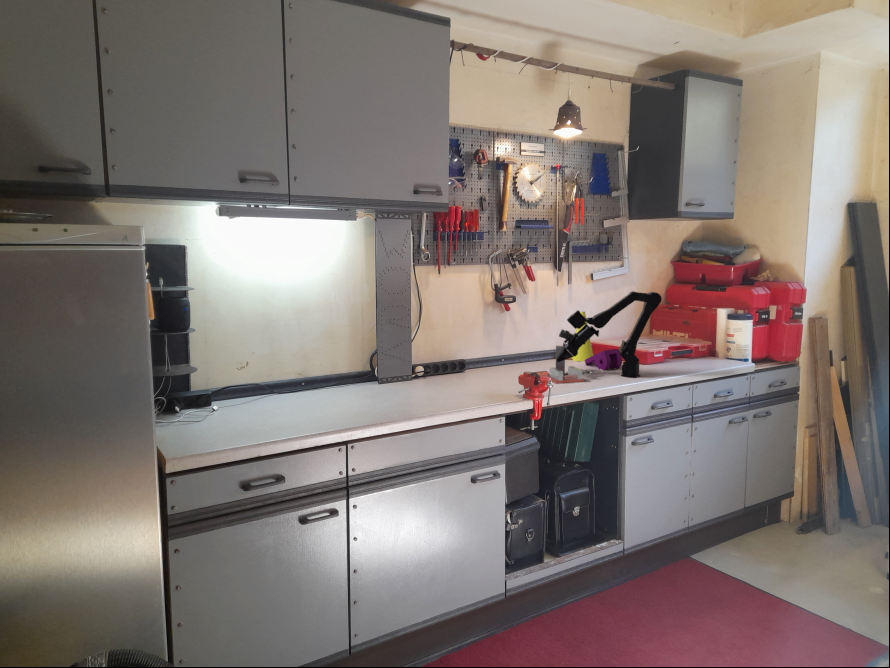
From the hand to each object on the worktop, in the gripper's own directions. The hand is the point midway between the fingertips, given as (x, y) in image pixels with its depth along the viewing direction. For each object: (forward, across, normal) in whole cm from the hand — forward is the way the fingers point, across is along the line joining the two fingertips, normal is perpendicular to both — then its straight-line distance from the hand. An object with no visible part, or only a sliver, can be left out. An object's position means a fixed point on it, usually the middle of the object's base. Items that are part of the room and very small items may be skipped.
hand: (557, 359), depth 267 cm
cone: (-5, -42, +14) cm, 45 cm away
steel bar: (+4, 0, +6) cm, 7 cm away
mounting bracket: (-10, -22, +20) cm, 31 cm away
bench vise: (+1, +12, +9) cm, 15 cm away
